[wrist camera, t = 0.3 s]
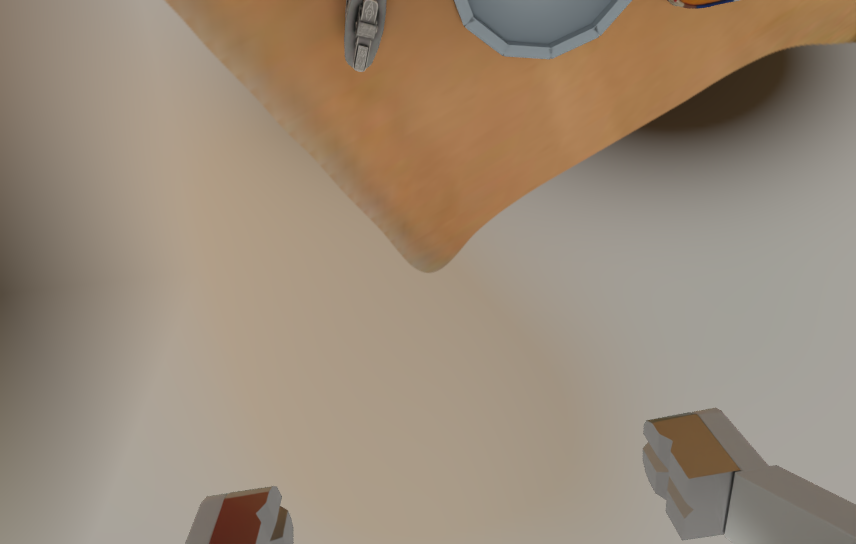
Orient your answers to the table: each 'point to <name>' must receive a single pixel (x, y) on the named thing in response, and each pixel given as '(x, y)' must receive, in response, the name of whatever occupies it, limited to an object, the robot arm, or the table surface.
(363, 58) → the lighter
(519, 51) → the dish
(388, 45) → the table surface
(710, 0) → the pencil case
